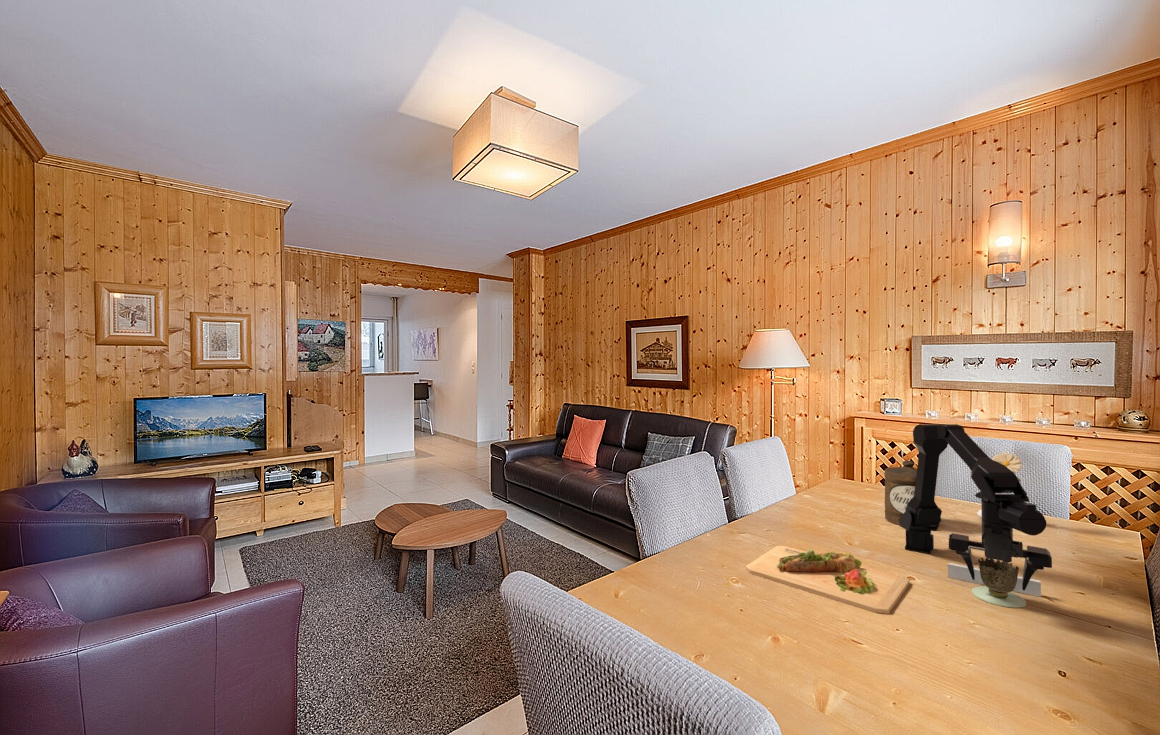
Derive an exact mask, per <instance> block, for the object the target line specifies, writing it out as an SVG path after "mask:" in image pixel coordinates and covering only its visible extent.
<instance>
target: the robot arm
mask: <svg viewBox="0 0 1160 735" xmlns="http://www.w3.org/2000/svg"><path fill="white" fill-rule="evenodd" d="M912 436H913V437H912V438H913V440H912V441H913V444H914V446H915V447H916V449H917V450H918V456H917V467H916V469H917V475H916V485H915V494H914V497H913V498H912V499H911V500H910V501H909V502H908V503H907V506H906V511H905V512H904V514H903V515H902V516H901V517H900V518H899V524H900V525H899V527H900V528H902V529H905V546H904V549H905V550H908V551H913V552H919V553H922V554H923V553H924V554H932V551H934V549H935V539H934V534H932V532H934V531H935V532H938V529H939V527H940V523H941V522H942V518H941V517H942V513H943V511H942V509H941V508H939V506H938V504H937V503H936V501H934V500H935V497H936V488H937V480H938V472H939V463H940V455H941V454H942V453H944V452H945V450H946V449H947V448H948V446H950V447H951V449H952V450H953V451H954V452H955V453H956V454H957V455H958V457H959V458H960V459H961V460H962V462H964V463H965V464H966V465H967V467H968V468H969V470H970V472H971V473H970V478H971V480H972V481H973V482H974V484H975V486H976V488H978V490H979V492H977V493H975V495H974V496H975V498H978V499H980V500H981V501H980V502H981V508H980V509H982V518H981V541H977V540H976V541H975V540H970V537H969V535H966V534H965V535H964V534H960V533H959V534H958V533H953V532H952V533H950V534H949V536H948V549H949V550H951V551H954V552H955V554H957V555H959V556H961V557H962V559H963V561H964V563H965V564H966V566H967V567H968V569H969V572H970V574H971V577H972V579H973V580H975V572H974V568H975V566H974V562H973V554H972V550H977V551H978V550H979V551H984V557H985V559H986V558H988V559H989V560H990V559H992V560H996V561H997V560H1000V562H1002V561H1004V562H1008V563H1012V561H1013V559H1012V558H1016V559H1018V558H1019V559H1024V565H1023V573H1022V577H1023V578H1022V590H1025V589H1026V587H1027V585H1028V583H1029V581H1030V579H1032V577H1033V575H1034V574H1035V572H1037V571H1038V570H1041V571H1043V570H1044V569H1045V568H1048V569H1053V558H1052V554H1051V552H1050V551H1049V550H1048V549H1047V548H1045V547H1038V546H1031V545H1026V549H1024V545H1023V541H1018V540H1014V538H1013V536H1014V532H1013V530H1016V531H1019V532H1021V533H1024V534H1025V535H1028V536H1033V537H1034V536H1037V535H1040V534H1042V533H1043V532H1044V531H1045V530H1046V527H1047V520H1046V518H1045V516H1044V514H1043V513H1042V512H1041V511H1039V510H1037V505H1036V504H1034V503H1029V502H1030V499H1029V497H1028V493H1027V492H1026V490H1025V489H1024V487H1023V486H1022V484H1021V481H1019V480H1018V478H1019V477H1018V476H1017V475H1016V473H1014V472H1012V471H1011V470H1010V469H1008V468H1007V467H1006V466H1005V465H1003V464H1001V463H998V462H996V461H994V460H992V459H993V458H990V457H989V456H988V455H987V453H986V452H985V451H983V449H982V448H981V447H980V446H979V445H978V444H977V443H976V442H975V440H973V439H972V438H971V437H970V436H969V434H967V433H966V432H965V428H964V426H963V425H960V424H957V423H955V424H954V423H953V424H951V423H950V424H949V423H948V424H947V423H946V424H943V423H925V424H924V423H922V424H920V423H919V424H917V425H916V426H914V428H913V430H912ZM1017 477H1018V478H1017ZM995 493H1002V494H995Z"/></svg>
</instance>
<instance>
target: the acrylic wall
mask: <svg viewBox="0 0 1160 735" xmlns="http://www.w3.org/2000/svg"><path fill="white" fill-rule="evenodd" d="M974 572H975V580H973V579H972V577H971V574H970V572H969V569H968V567H967V565H964V564H963V565H962V564H958V563H957V564H956V563H951V562H948V563H947V577H948V578H951V579H955V580H959V581H964V582H969V583H973V584H979V585H984V583H983V581H982V579H981V575H980V569H979V567H978V568H976V567H974ZM1022 578H1023V576H1022V577H1021V576H1018V577H1017V583H1016V586H1015V589H1014V590H1013V591H1012V592H1015V593H1016V592H1017V593H1019V594H1020V593H1022V594H1026V595H1031V596H1035V597H1040V598H1041V597H1042V583H1041V580H1039V579H1034V578H1031V579H1030V581H1029V583H1028V585H1027V587H1026V589H1025V590H1022ZM984 586H985V585H984Z"/></svg>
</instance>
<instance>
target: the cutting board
mask: <svg viewBox="0 0 1160 735" xmlns="http://www.w3.org/2000/svg"><path fill="white" fill-rule="evenodd" d="M745 571H747V572H748V573H749V574H751V575H753V576H757V577H760V578H763V579H767V580H768V581H769V580H770V581H773V582H776V583H778V584H779V583H780V584H783V585H785V586H789V587H792V588H795V589H798V590H802V591H804V592H809V593H812V594H815V595H818V596H821V597H825V598H827V599H830V600H834V601H837V602H841V603H843V604H846V605H849V606H850V605H851V606H853V607H856V608H860V609H862V610H866V611H869V612H872V613H874V614H875V613H876V614H886V615H888V614H890V612H891V611H892V609H893V608H894V607H895V606H896V604H897V602H898V601H899V600H900V599H901V597H902V595H903V594H904V593H905V591H907V588H908V587H909V585H910V583H911V582H910V581H911V580H909V579H908V578H906V577H904V576H902V575H899V574H895V573H891V572H887V571H884V570H880V569H875V568H871V567H868V566H864V565H862V561H860V559H858V558H856V557H854V554H851V553H848V552H845V551H843V552H841V553H840V552H833V551H830V552H824V553H820V554H817V553H815V551H814V549H811V548H809V549H808V550H806V551H805V550H803V549H797V548H793V547H790V546H786V545H776V546H774V547H772V548H771V549H770V550H768V551H767V552H765V553H764V554H762V555H760V556H759V557H757V558H756V559H754V560H752V561H751V562H749V563H748V564H747V565H745Z"/></svg>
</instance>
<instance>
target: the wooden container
mask: <svg viewBox="0 0 1160 735" xmlns="http://www.w3.org/2000/svg"><path fill="white" fill-rule="evenodd" d="M901 464H902V465H903V466H893V467H887V468H884V518H885V520H886V521H887V522H889V523H892V524H894V525H898V526H900V524H899V518H900V517H901V516H902V515H903V514H904V512H905V511H906V506H907V503H908V502H909V501H910V500H911V499H912V498H913V497H914V494H915V485H916V475H917V467H916V468H915V467H914V465H915V464H914V462H913V461H912V460H908V459H906V460H905V459H904V460H903V461H902V463H901ZM934 501H935V499H934ZM935 502H936V501H935Z"/></svg>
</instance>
